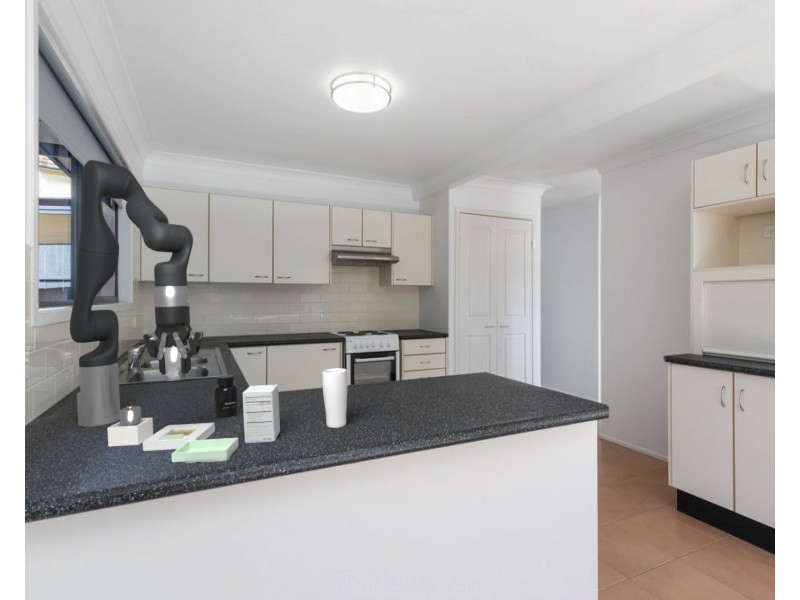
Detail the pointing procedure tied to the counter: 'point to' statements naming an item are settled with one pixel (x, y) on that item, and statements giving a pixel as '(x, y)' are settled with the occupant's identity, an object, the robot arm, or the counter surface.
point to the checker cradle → (177, 436)
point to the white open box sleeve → (130, 433)
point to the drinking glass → (335, 396)
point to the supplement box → (261, 413)
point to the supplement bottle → (226, 397)
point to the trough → (205, 450)
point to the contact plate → (182, 432)
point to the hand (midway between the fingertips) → (175, 373)
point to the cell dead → (130, 416)
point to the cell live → (173, 364)
